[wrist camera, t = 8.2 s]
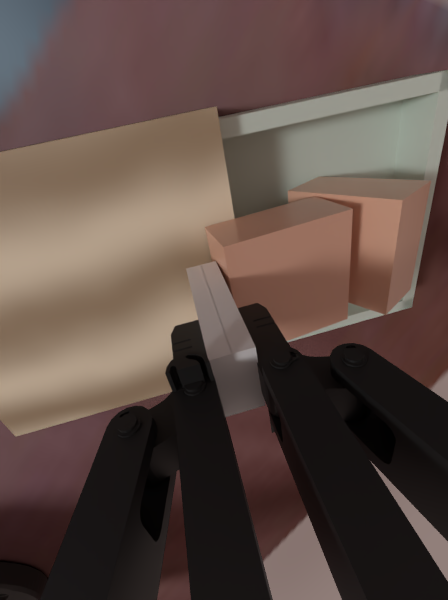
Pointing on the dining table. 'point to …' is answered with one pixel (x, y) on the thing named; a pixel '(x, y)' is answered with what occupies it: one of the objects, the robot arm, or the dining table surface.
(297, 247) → the tile front
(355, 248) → the tile rear
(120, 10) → the dining table surface
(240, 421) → the dining table surface
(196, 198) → the board
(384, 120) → the tray
